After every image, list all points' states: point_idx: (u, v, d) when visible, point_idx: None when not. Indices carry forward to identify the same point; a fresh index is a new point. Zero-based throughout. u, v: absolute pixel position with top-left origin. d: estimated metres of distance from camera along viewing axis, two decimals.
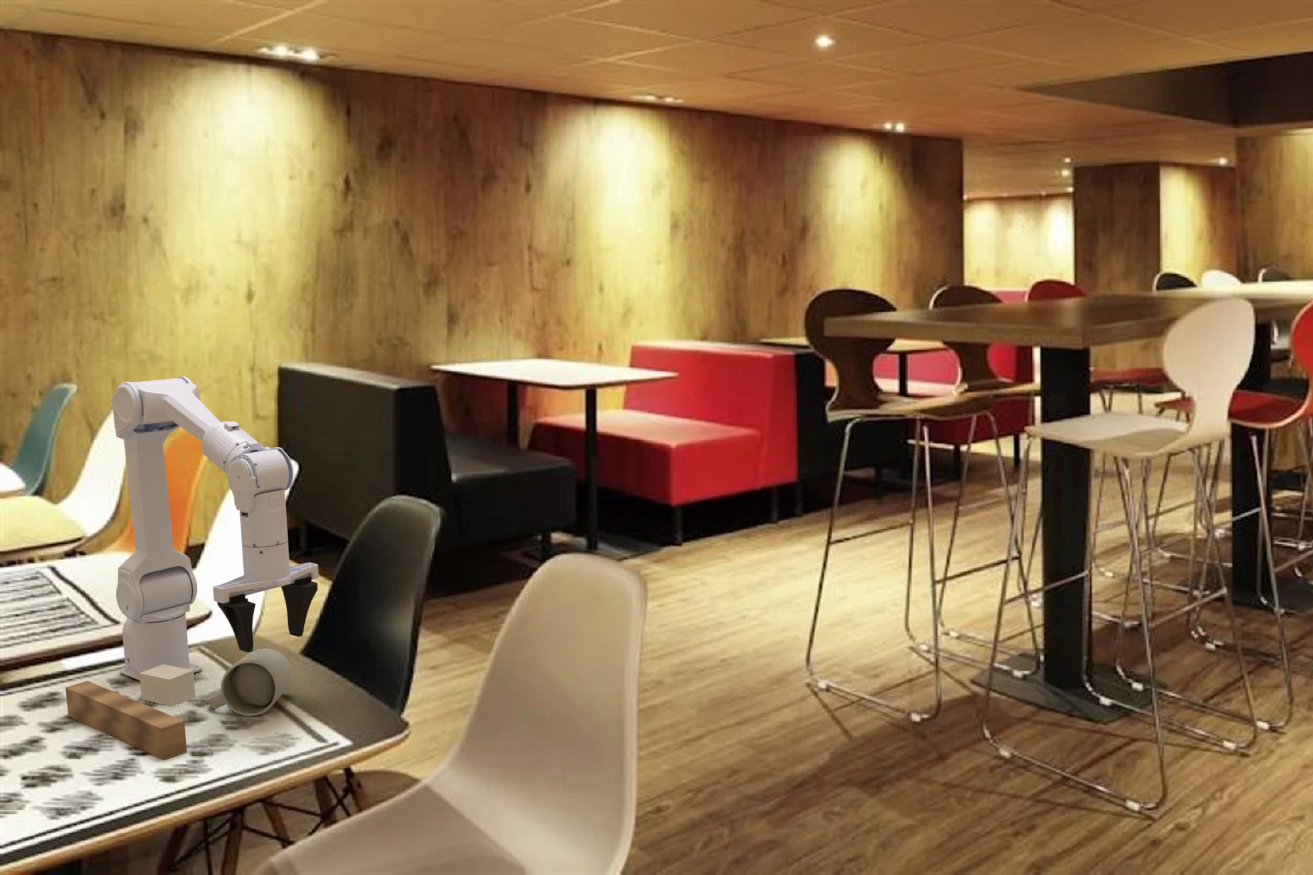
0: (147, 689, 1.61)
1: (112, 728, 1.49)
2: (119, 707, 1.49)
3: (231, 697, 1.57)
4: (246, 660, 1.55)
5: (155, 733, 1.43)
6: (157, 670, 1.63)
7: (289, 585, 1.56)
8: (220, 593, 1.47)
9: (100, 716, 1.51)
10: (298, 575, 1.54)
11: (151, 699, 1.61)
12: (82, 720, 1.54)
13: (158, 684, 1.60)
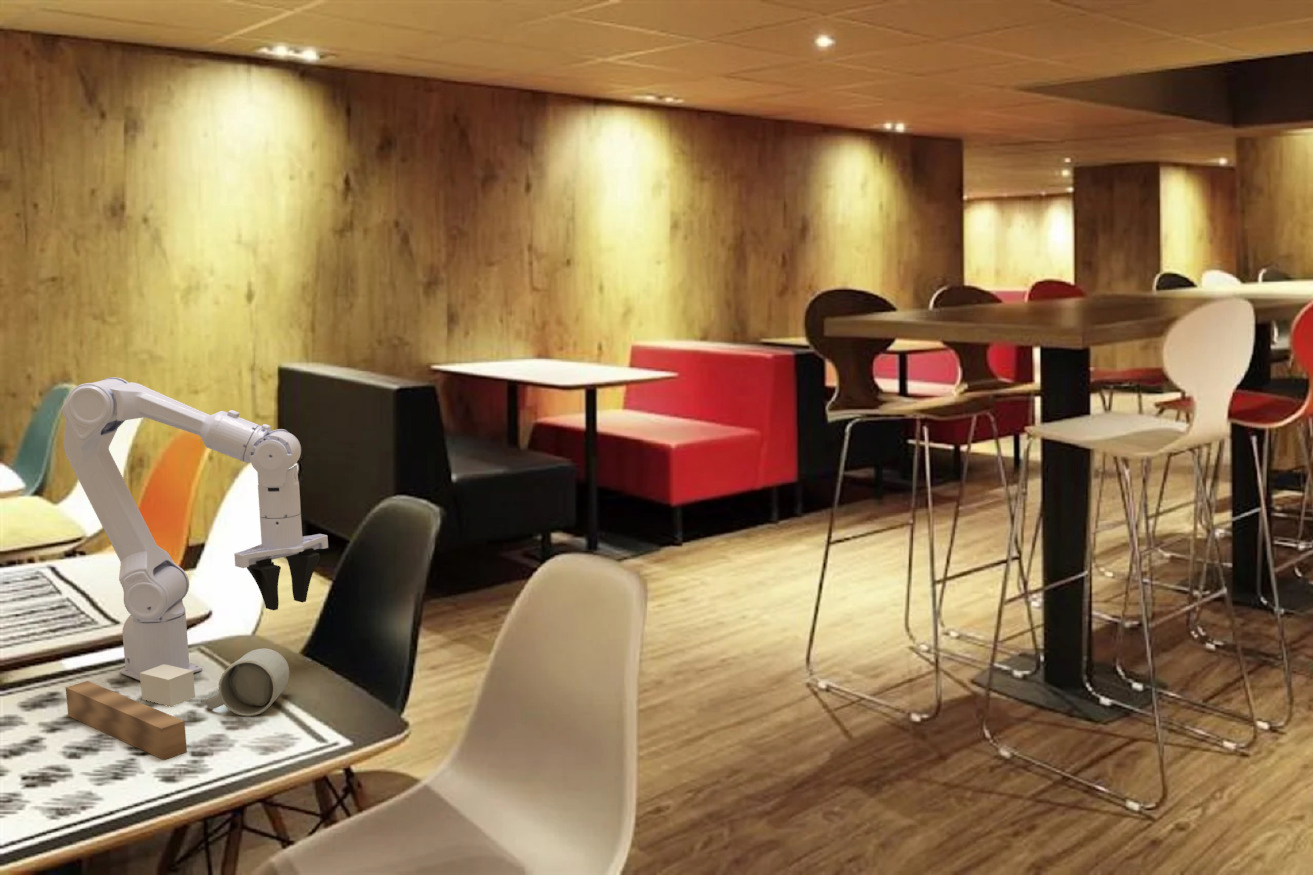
0: (147, 689, 1.61)
1: (112, 728, 1.49)
2: (119, 707, 1.49)
3: (229, 697, 1.57)
4: (244, 660, 1.55)
5: (155, 733, 1.43)
6: (157, 670, 1.63)
7: (294, 555, 1.73)
8: (241, 559, 1.65)
9: (100, 716, 1.51)
10: (310, 544, 1.72)
11: (151, 699, 1.61)
12: (82, 720, 1.54)
13: (158, 684, 1.60)
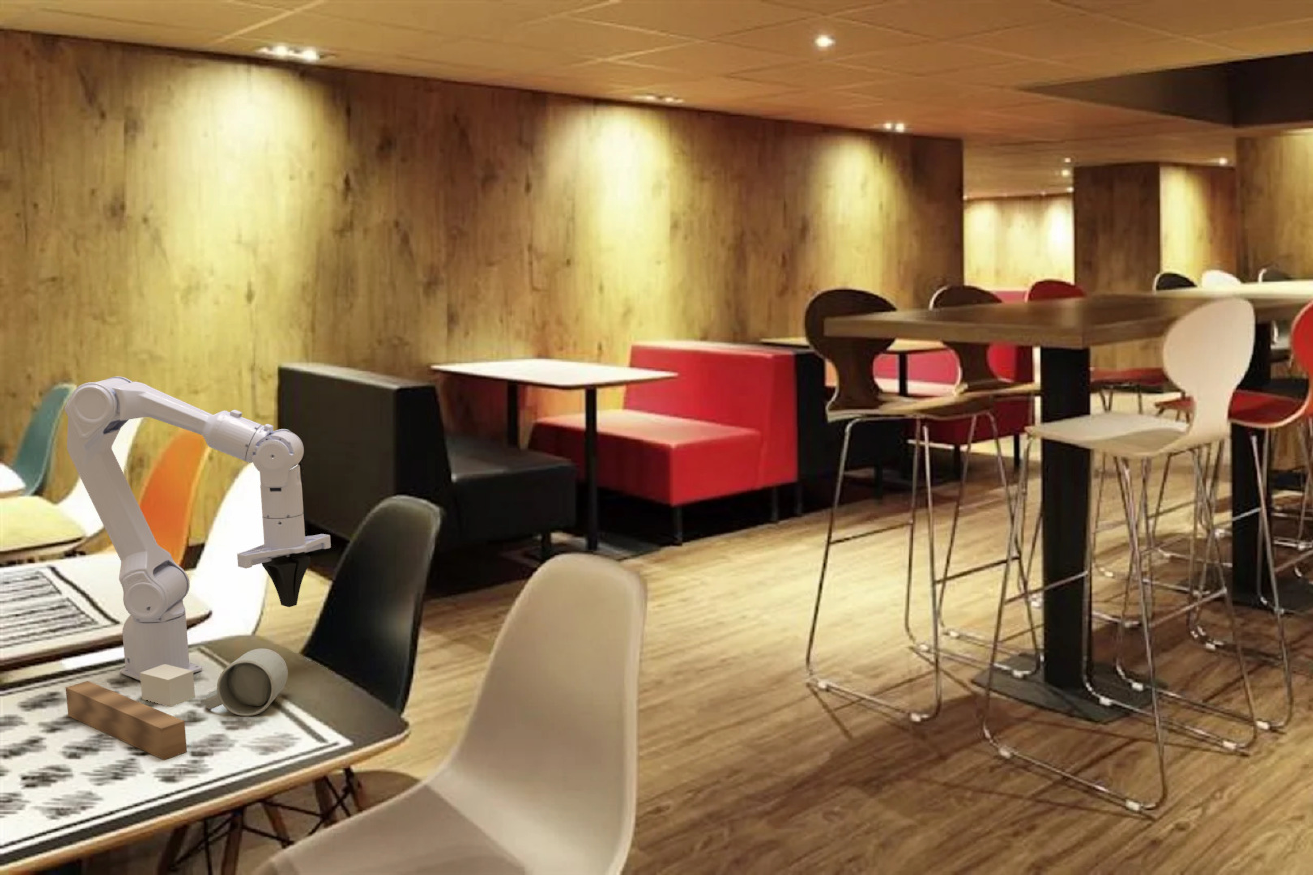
0: (147, 689, 1.62)
1: (112, 728, 1.49)
2: (119, 707, 1.49)
3: (227, 697, 1.57)
4: (242, 660, 1.55)
5: (155, 733, 1.43)
6: (157, 670, 1.63)
7: None
8: (244, 559, 1.64)
9: (100, 716, 1.51)
10: (312, 544, 1.72)
11: (151, 699, 1.61)
12: (82, 720, 1.54)
13: (158, 684, 1.60)
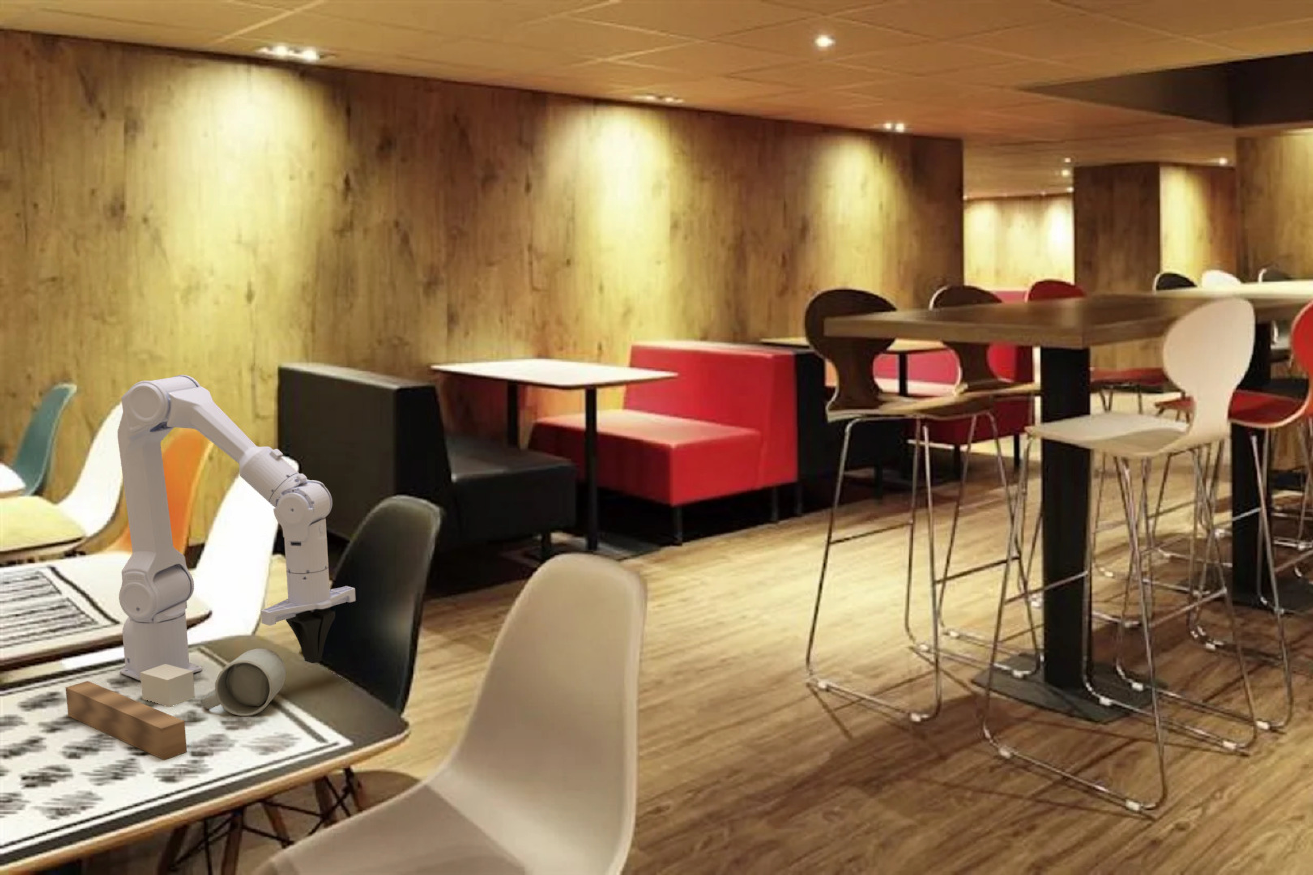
0: (147, 689, 1.62)
1: (112, 728, 1.49)
2: (119, 707, 1.49)
3: (225, 697, 1.57)
4: (240, 660, 1.55)
5: (155, 733, 1.43)
6: (158, 670, 1.63)
7: None
8: (267, 616, 1.60)
9: (100, 716, 1.51)
10: (337, 598, 1.67)
11: (151, 699, 1.61)
12: (82, 720, 1.54)
13: (157, 684, 1.60)
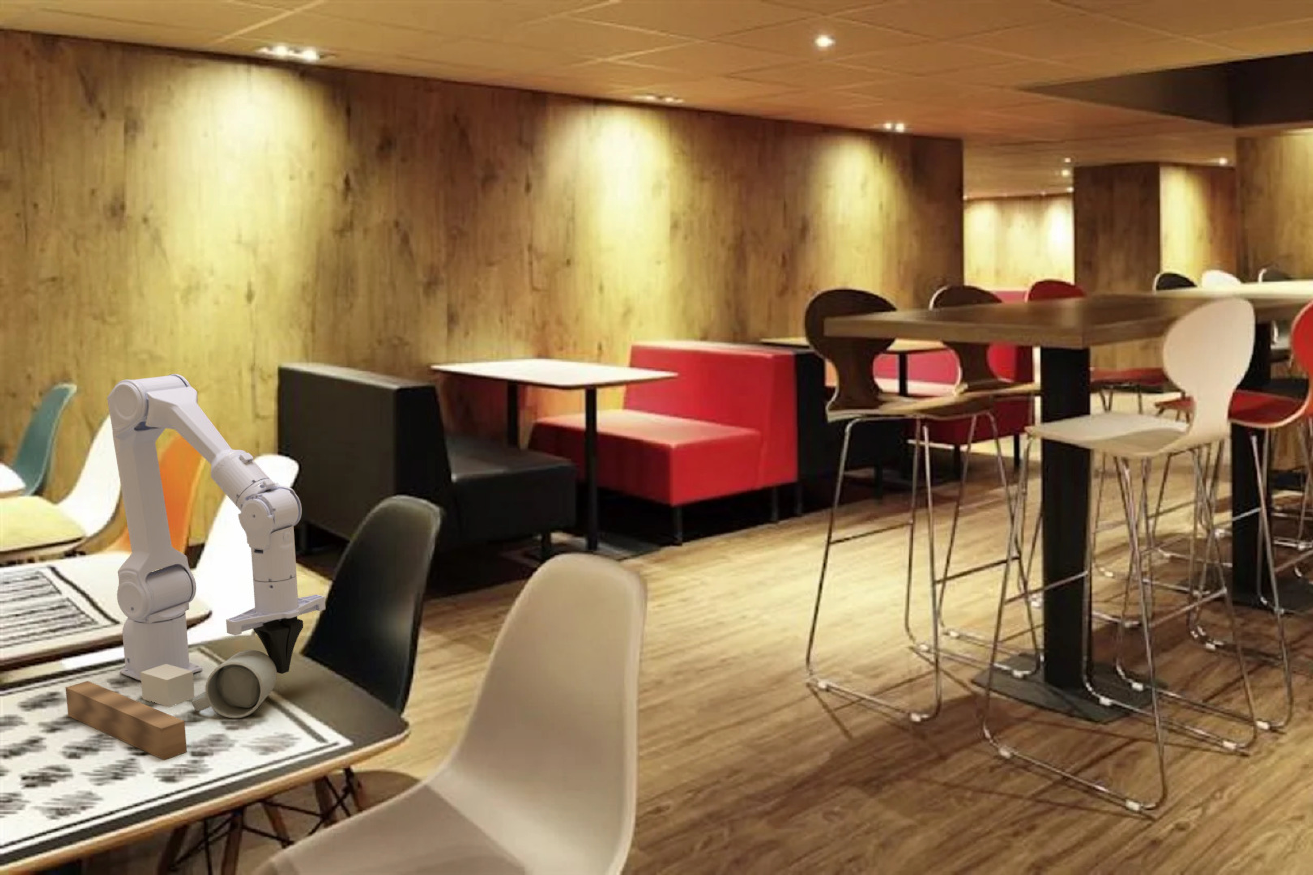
0: (147, 688, 1.62)
1: (112, 728, 1.49)
2: (119, 707, 1.49)
3: (216, 699, 1.56)
4: (231, 662, 1.54)
5: (155, 733, 1.43)
6: (158, 670, 1.63)
7: None
8: (233, 626, 1.55)
9: (100, 716, 1.51)
10: (306, 607, 1.63)
11: (151, 699, 1.62)
12: (82, 720, 1.54)
13: (157, 684, 1.60)
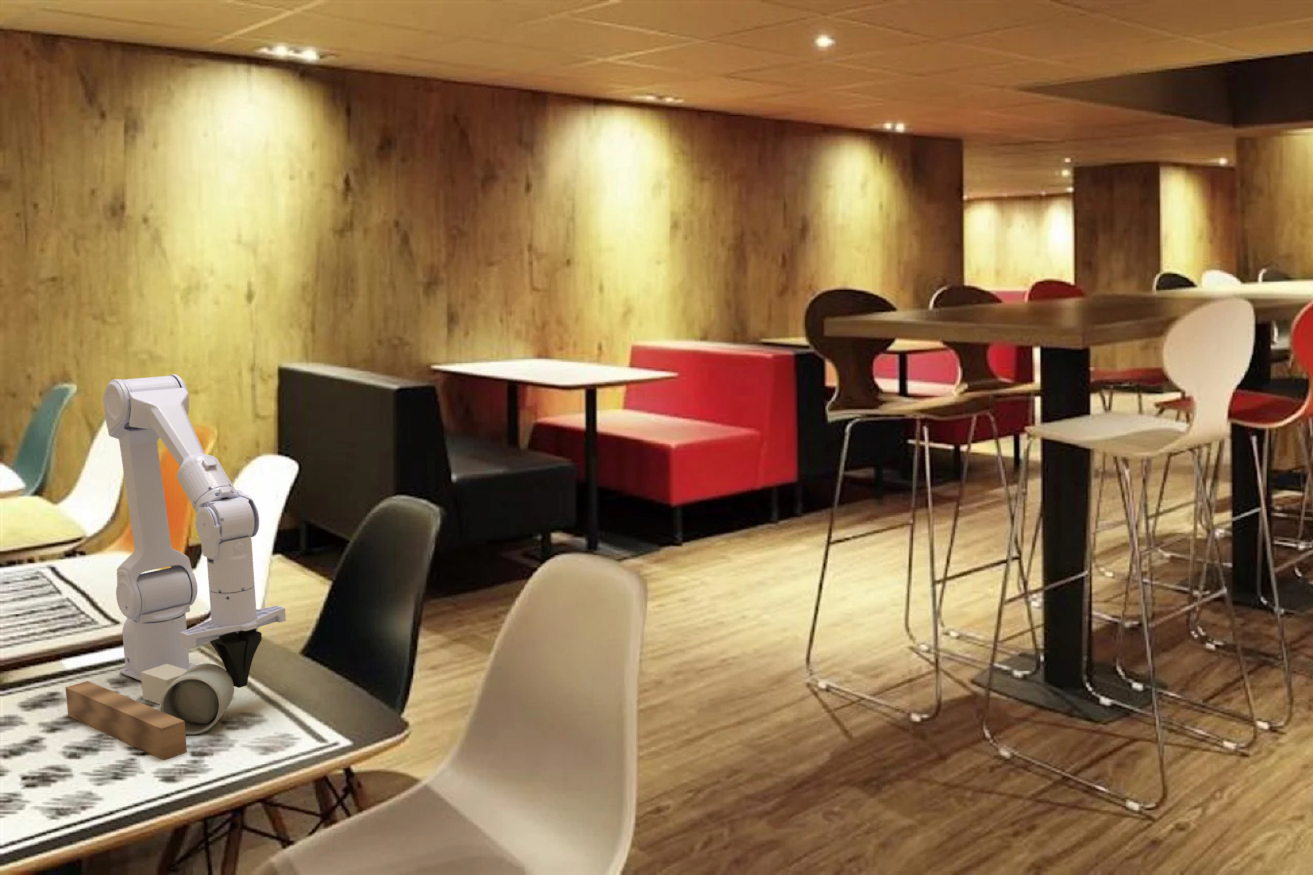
0: (147, 688, 1.62)
1: (112, 728, 1.49)
2: (119, 707, 1.49)
3: None
4: (187, 676, 1.49)
5: (155, 733, 1.43)
6: (158, 670, 1.63)
7: None
8: (187, 639, 1.50)
9: (100, 716, 1.51)
10: (265, 619, 1.58)
11: (151, 698, 1.62)
12: (82, 720, 1.54)
13: (157, 684, 1.60)
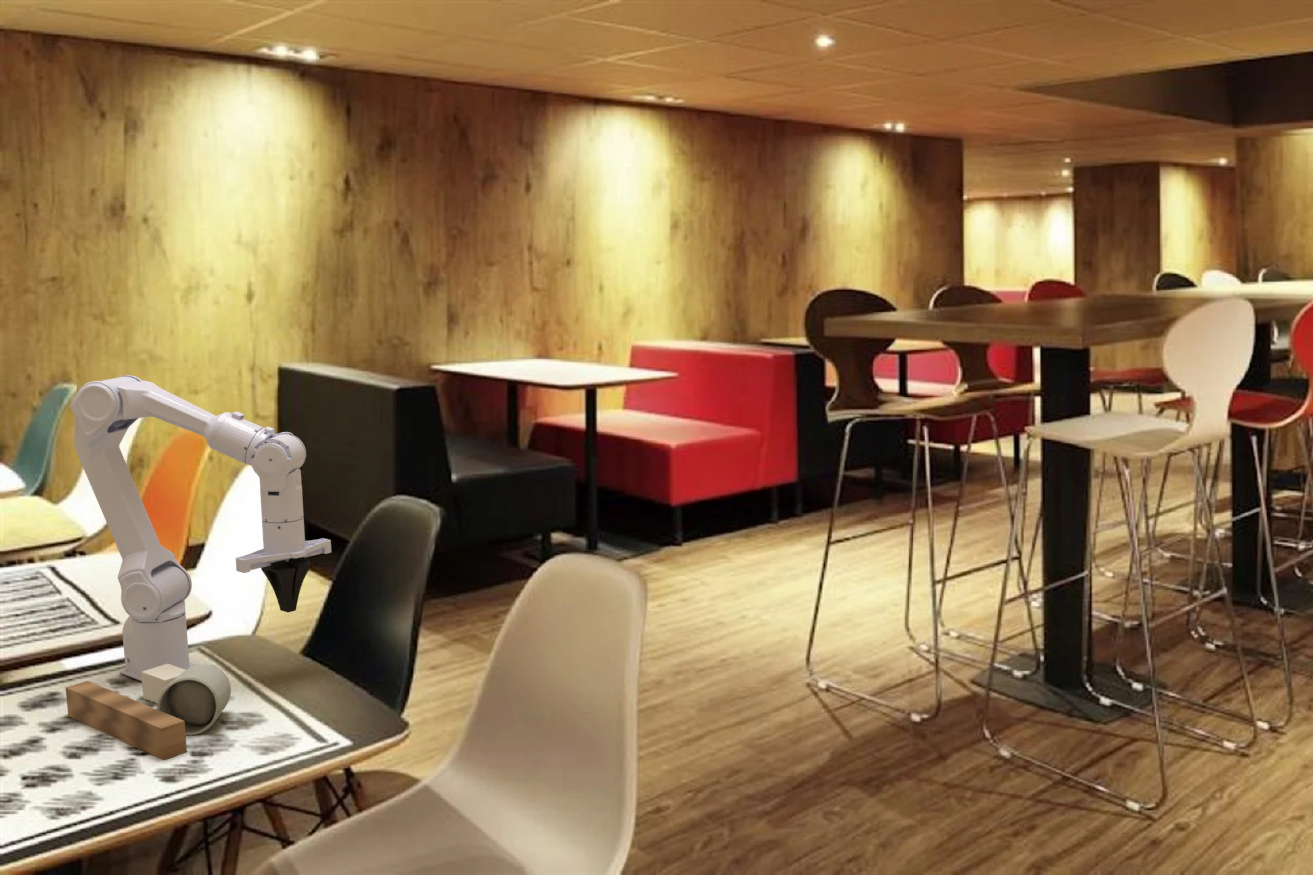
0: (147, 688, 1.62)
1: (112, 728, 1.49)
2: (119, 707, 1.49)
3: None
4: (184, 677, 1.49)
5: (155, 733, 1.43)
6: (158, 669, 1.63)
7: None
8: (242, 564, 1.62)
9: (100, 716, 1.51)
10: (312, 549, 1.70)
11: (151, 698, 1.62)
12: (82, 720, 1.54)
13: (156, 684, 1.60)
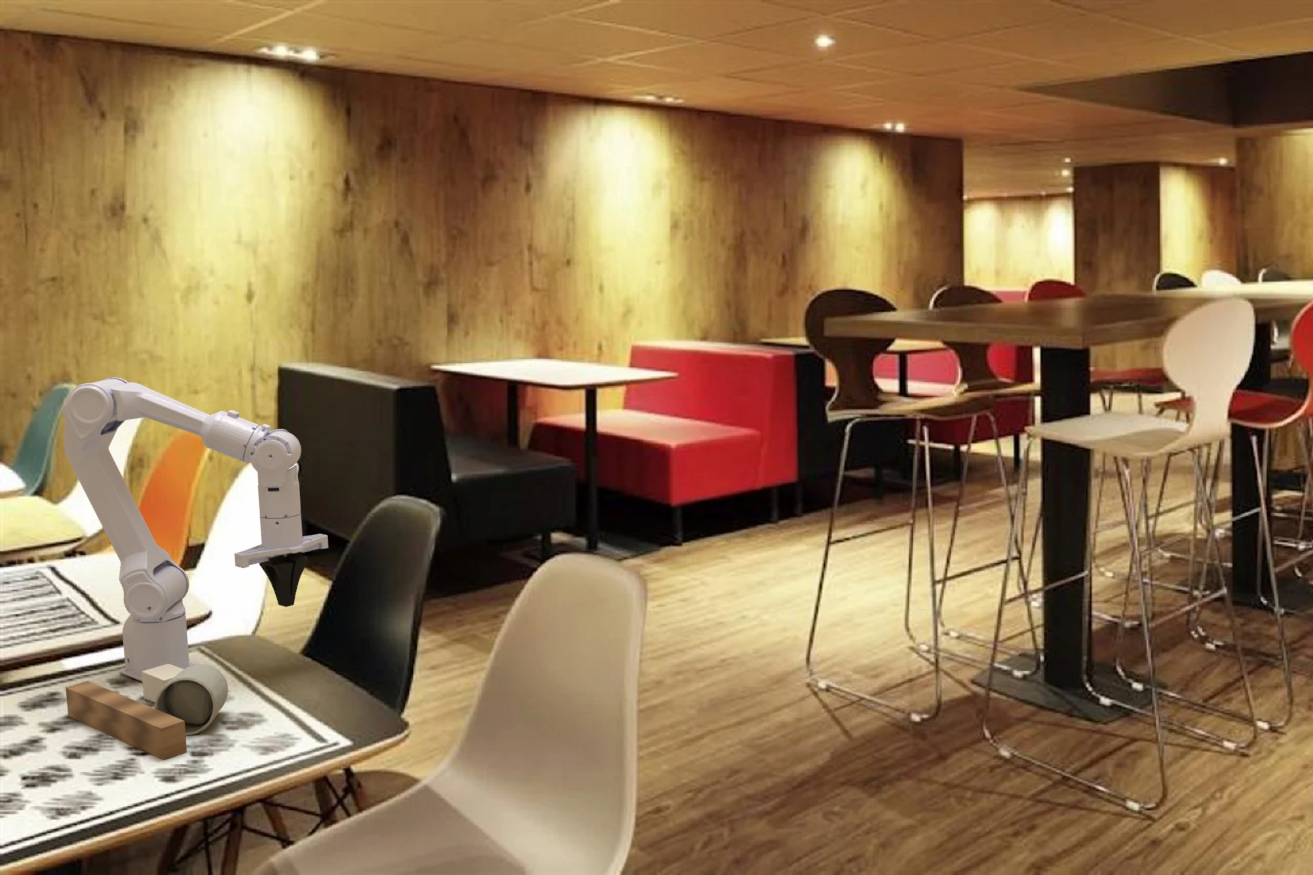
0: (147, 688, 1.62)
1: (112, 728, 1.49)
2: (119, 707, 1.49)
3: None
4: (181, 677, 1.49)
5: (155, 733, 1.43)
6: (159, 669, 1.63)
7: None
8: (241, 559, 1.65)
9: (100, 716, 1.51)
10: (310, 544, 1.72)
11: (151, 698, 1.62)
12: (82, 720, 1.54)
13: (156, 684, 1.60)
